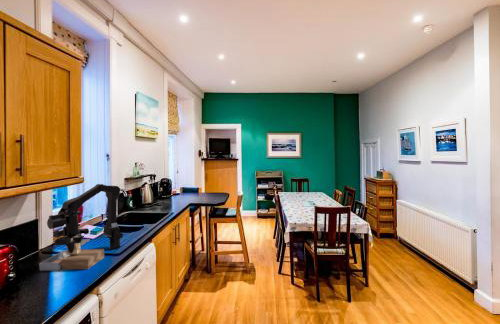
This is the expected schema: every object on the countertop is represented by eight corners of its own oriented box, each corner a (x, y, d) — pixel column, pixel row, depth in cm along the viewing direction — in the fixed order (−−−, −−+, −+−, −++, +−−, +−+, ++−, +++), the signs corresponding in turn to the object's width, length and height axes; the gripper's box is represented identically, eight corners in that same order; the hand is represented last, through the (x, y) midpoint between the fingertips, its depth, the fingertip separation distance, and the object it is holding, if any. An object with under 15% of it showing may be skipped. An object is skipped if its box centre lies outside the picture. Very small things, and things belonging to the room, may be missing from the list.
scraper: (78, 249, 143) (77, 240, 143) (86, 248, 143) (85, 240, 143) (62, 258, 131) (61, 248, 131) (71, 257, 131) (69, 248, 131)
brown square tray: (80, 257, 145) (80, 249, 144) (104, 257, 144) (103, 248, 144) (61, 269, 131) (61, 260, 130) (88, 269, 130) (87, 259, 130)
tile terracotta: (64, 259, 137) (64, 263, 137) (56, 259, 137) (56, 263, 137) (57, 263, 132) (57, 267, 132) (49, 263, 132) (49, 267, 132)
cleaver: (66, 257, 147) (66, 253, 147) (48, 258, 146) (48, 255, 145) (91, 240, 176) (91, 237, 176) (76, 241, 175) (76, 238, 175)
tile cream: (72, 255, 143) (72, 258, 143) (65, 255, 143) (65, 258, 143) (66, 258, 138) (67, 262, 138) (58, 258, 138) (59, 262, 138)
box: (63, 257, 146) (62, 250, 146) (81, 257, 146) (80, 250, 145) (39, 270, 130) (39, 263, 130) (59, 270, 130) (59, 262, 129)
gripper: (70, 219, 146) (71, 245, 147) (43, 229, 127) (45, 259, 128) (88, 218, 146) (90, 244, 147) (64, 228, 127) (66, 258, 128)
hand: (73, 251), depth 137 cm, fingers closed on scraper, 3 cm apart
